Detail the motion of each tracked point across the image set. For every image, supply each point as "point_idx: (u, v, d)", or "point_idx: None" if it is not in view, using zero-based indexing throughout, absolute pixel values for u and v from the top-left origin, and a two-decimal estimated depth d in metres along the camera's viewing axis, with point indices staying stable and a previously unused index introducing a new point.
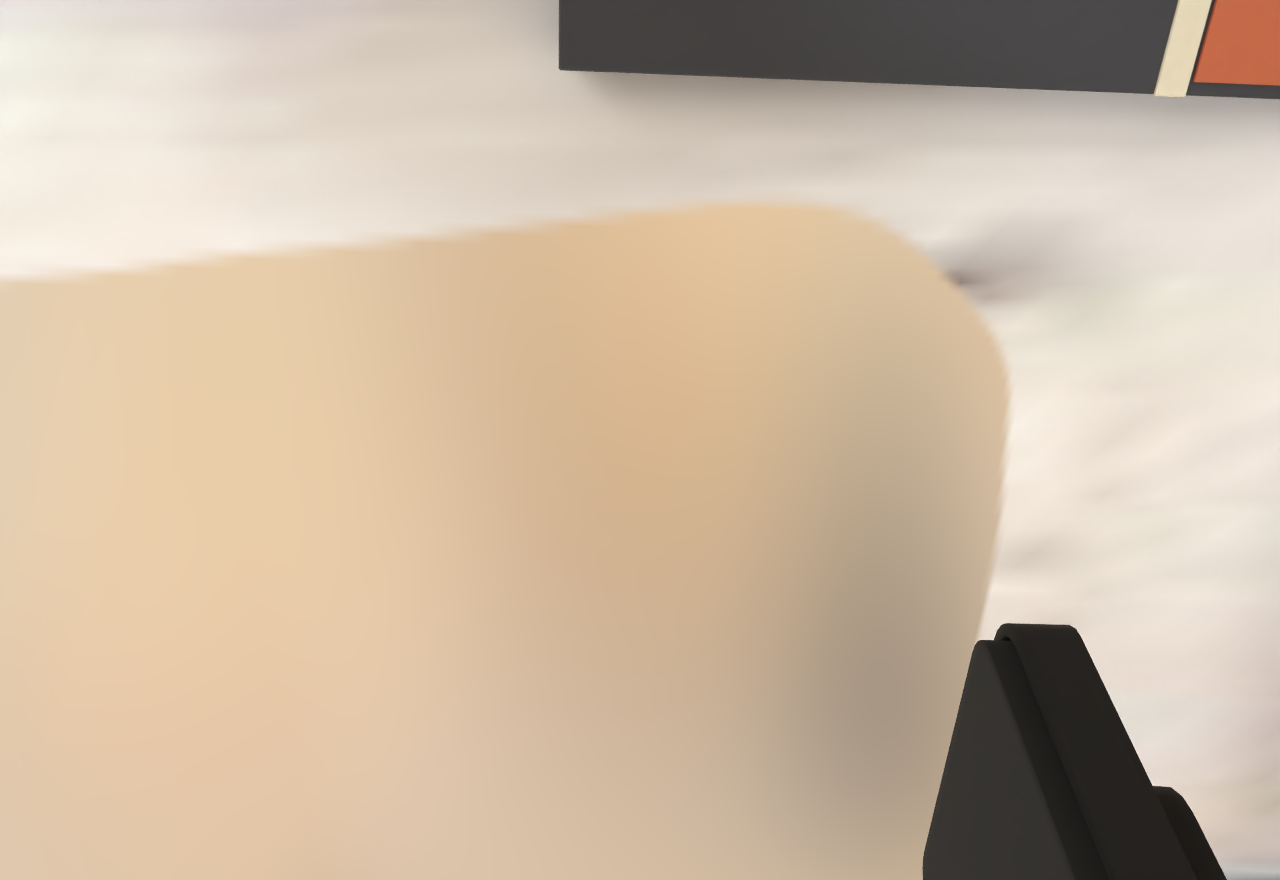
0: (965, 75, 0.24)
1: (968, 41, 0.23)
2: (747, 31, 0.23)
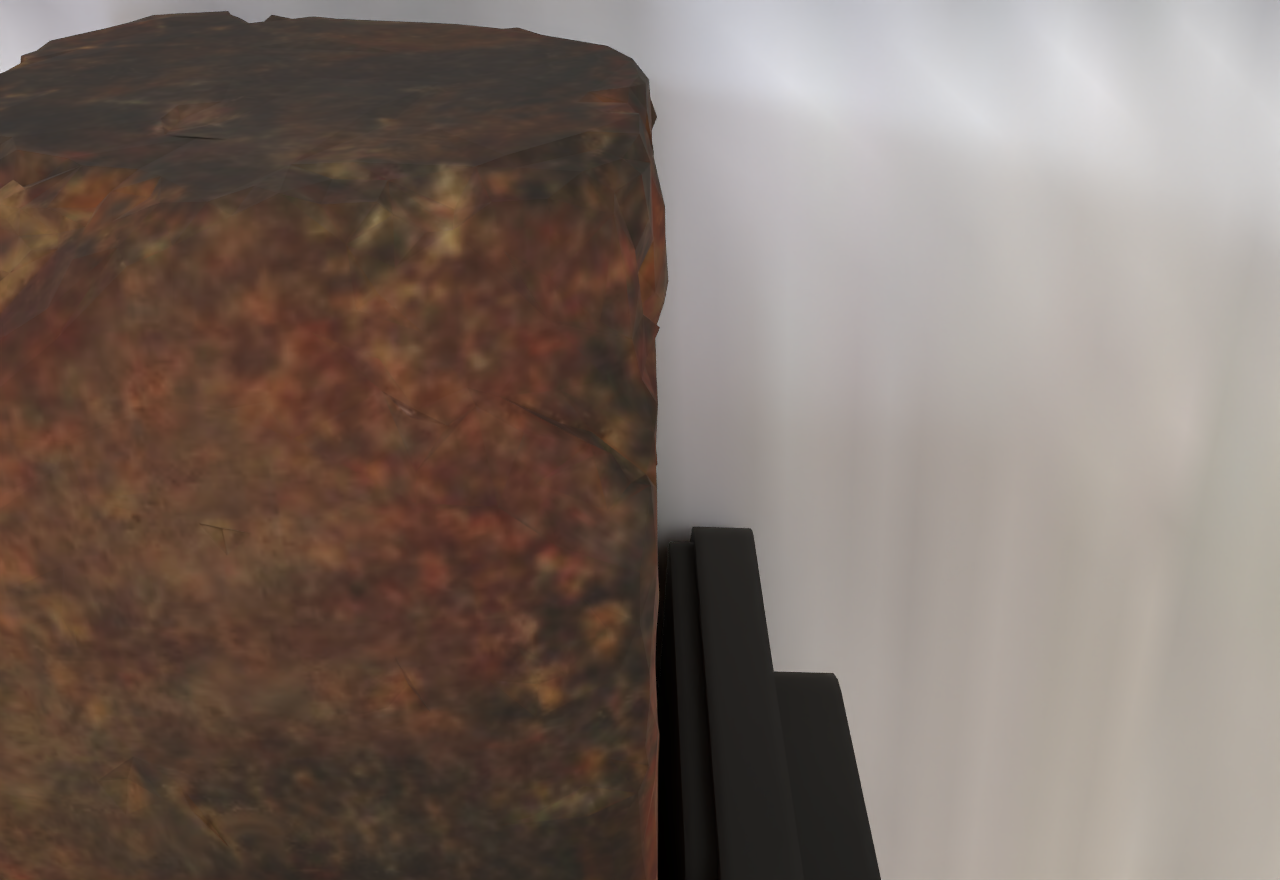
0: None
1: None
2: None
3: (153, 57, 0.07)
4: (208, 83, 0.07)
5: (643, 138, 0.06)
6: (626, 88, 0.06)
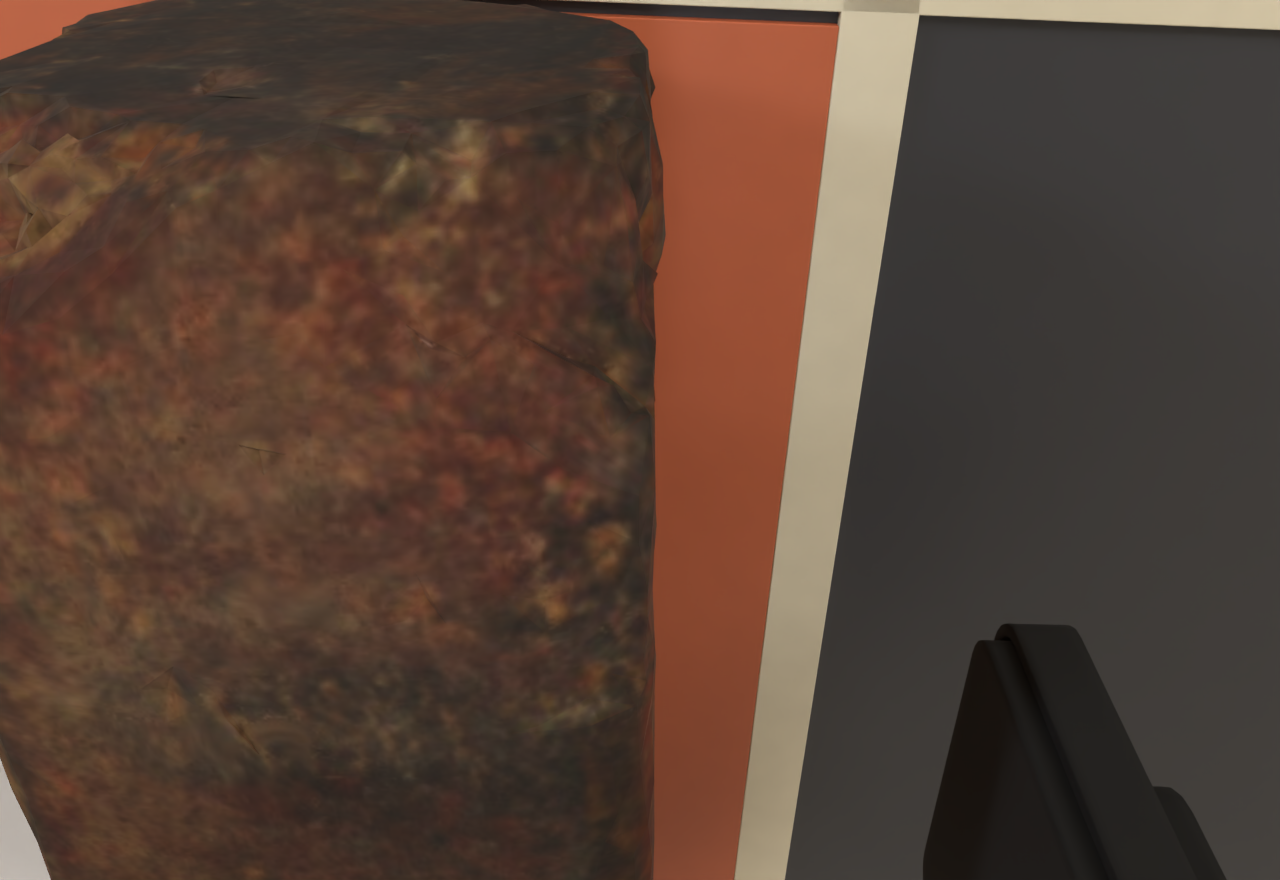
0: None
1: None
2: None
3: (186, 28, 0.08)
4: (239, 51, 0.07)
5: (643, 99, 0.06)
6: (627, 56, 0.07)
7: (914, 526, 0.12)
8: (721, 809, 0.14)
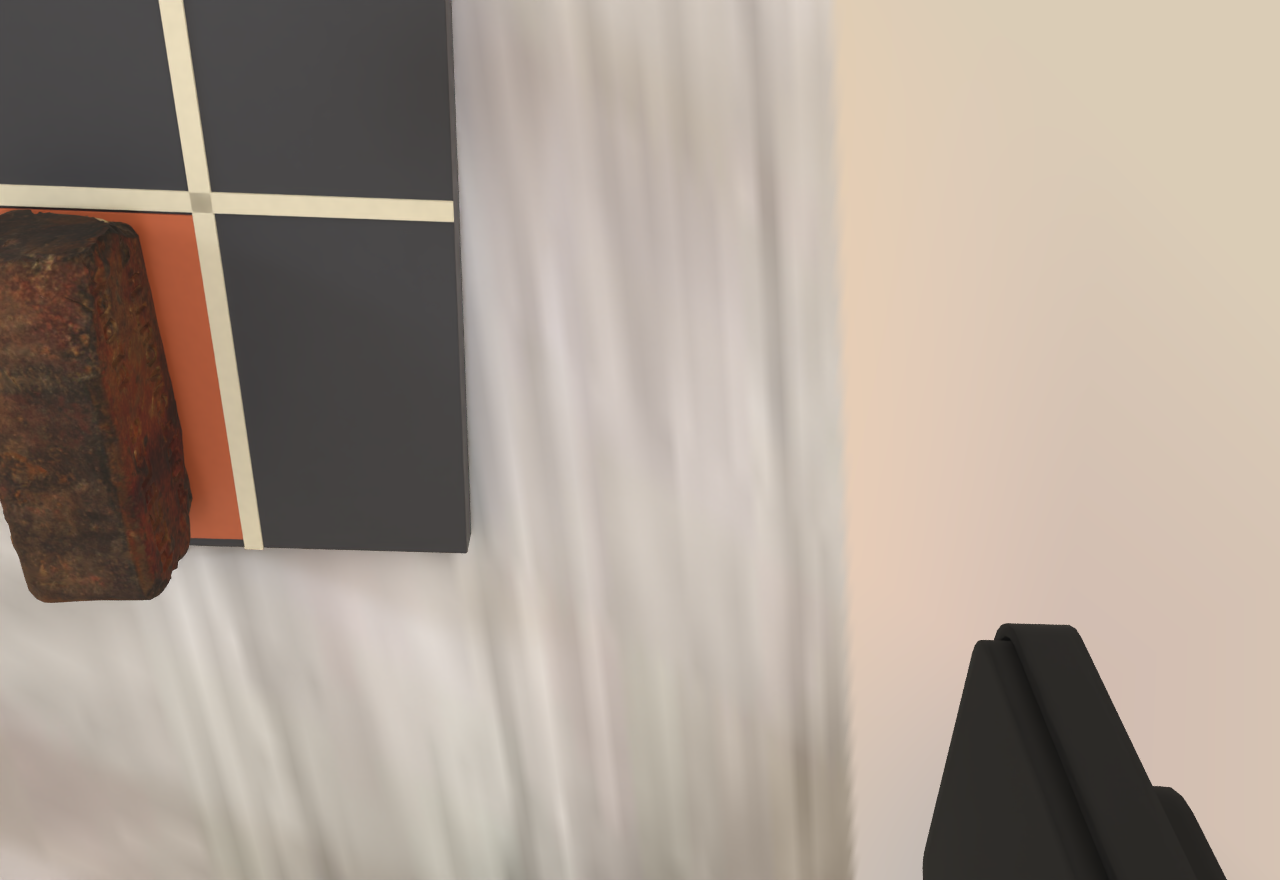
0: None
1: None
2: None
3: (7, 226, 0.33)
4: (16, 233, 0.32)
5: (92, 248, 0.31)
6: (98, 236, 0.32)
7: (261, 363, 0.37)
8: (224, 471, 0.39)
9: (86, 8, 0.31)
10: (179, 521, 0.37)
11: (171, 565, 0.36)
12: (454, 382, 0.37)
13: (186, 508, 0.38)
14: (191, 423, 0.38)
